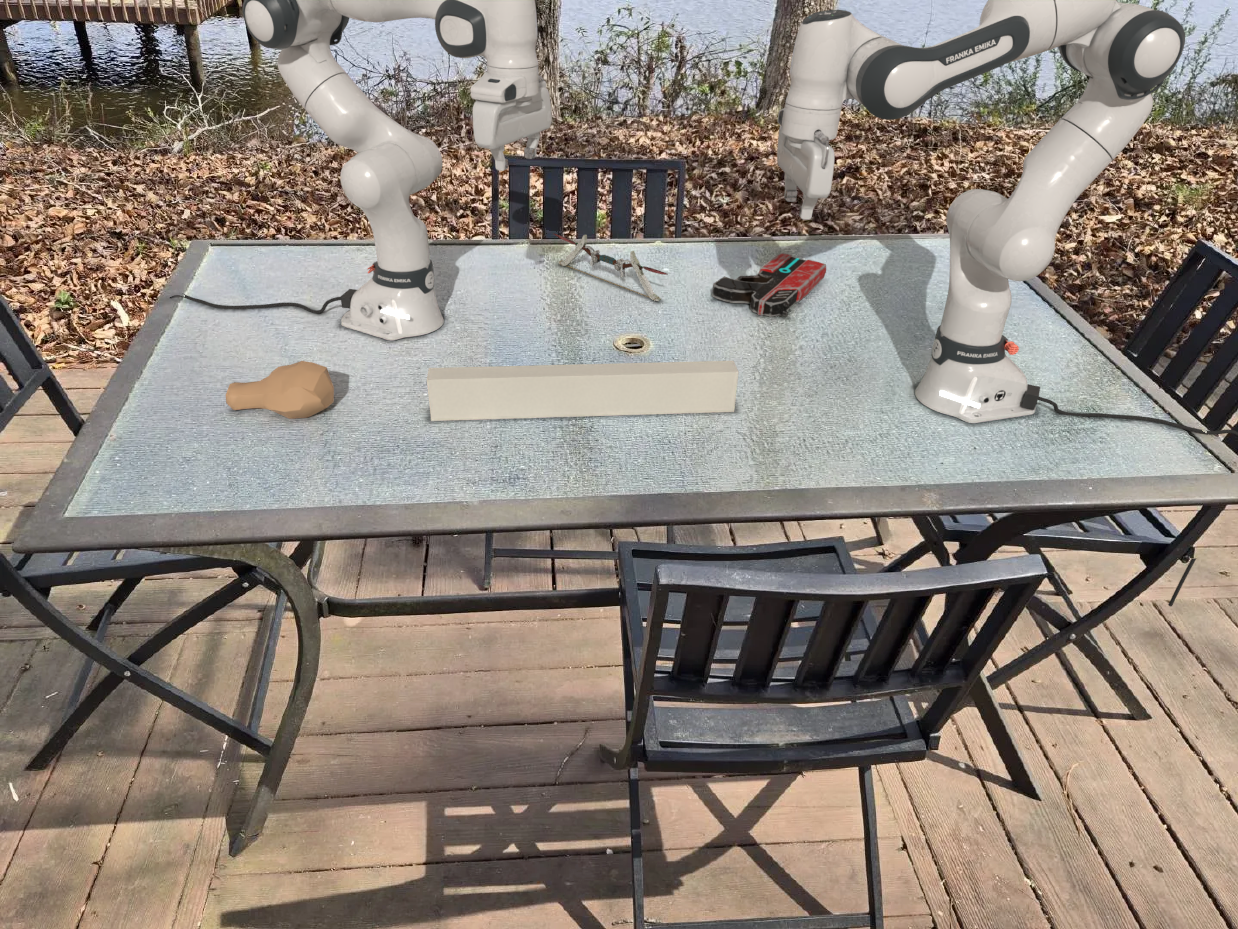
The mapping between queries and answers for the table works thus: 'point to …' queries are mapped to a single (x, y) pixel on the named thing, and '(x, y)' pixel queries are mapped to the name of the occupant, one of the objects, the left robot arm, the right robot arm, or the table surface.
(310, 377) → the squash
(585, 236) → the bow
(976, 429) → the table surface
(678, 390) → the beam
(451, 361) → the table surface
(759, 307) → the gun
